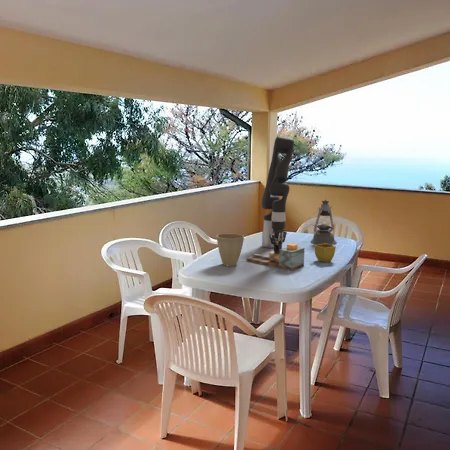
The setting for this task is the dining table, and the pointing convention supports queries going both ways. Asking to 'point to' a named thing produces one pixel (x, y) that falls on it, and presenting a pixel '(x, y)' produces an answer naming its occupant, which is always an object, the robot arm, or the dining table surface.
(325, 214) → the lantern
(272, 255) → the carriage
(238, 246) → the plant pot
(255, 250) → the dining table surface
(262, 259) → the rail rig
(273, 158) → the robot arm
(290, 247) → the button
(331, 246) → the flower pot
